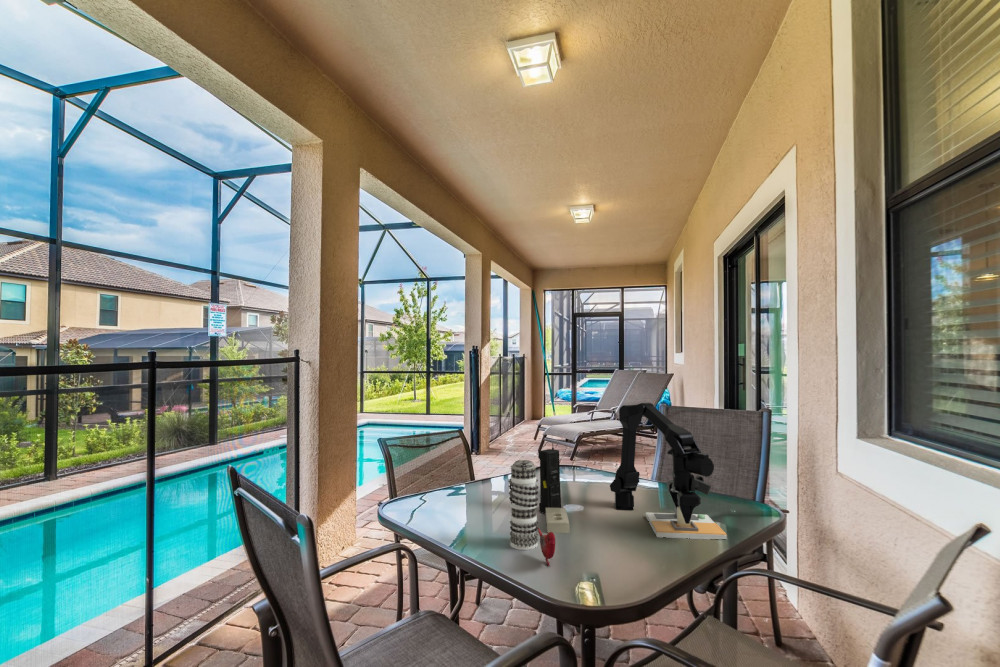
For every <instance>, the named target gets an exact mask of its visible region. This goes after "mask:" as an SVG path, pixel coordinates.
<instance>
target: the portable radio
mask: <svg viewBox="0 0 1000 667" xmlns="http://www.w3.org/2000/svg"><path fill="white" fill-rule="evenodd" d="M551 444H552V447H551V448H548V449H543V450H538V453H537V455H538V457H537V458H538V459H539V484H540V486H539V488H540V489H539V490H540V491H539V492H540V494H539V495H540V496H539V498H540V499H539V500H540V502H539V503H538V511H539V512H540V511H541V512H540V513H542V512H543V514H544V513H545V508H563V507H562V496H561V495H562V493H561V476H560V475H561V473H560V472H561V468H560V467H561V466H560V465H561V464H560V450H559V449H555V447H554V443H551Z"/></svg>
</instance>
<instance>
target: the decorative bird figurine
mask: <svg viewBox="0 0 1000 667" xmlns="http://www.w3.org/2000/svg"><path fill="white" fill-rule="evenodd" d="M537 532H538V536H539V545H540V550H541V553H542V555H543V557H544V558H545V559H544V560H545V562H546V565H547V566H549V567H551V565H550V562H549V560H551V559H552V558H554V555H555V551H556V537H555V534H554V533H553V532H549V533H546V534H543V533H542V530H541V529H540V528H539V527H538V529H537Z"/></svg>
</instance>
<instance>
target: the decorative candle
mask: <svg viewBox="0 0 1000 667" xmlns="http://www.w3.org/2000/svg"><path fill="white" fill-rule="evenodd" d="M536 468H538V467H537V465H535V464H534V462H533V461H531V460H529V459H527V460H526V459H520V460H515V461H514V462H513V464H512V465H510V469H511V470H510V473H511V474H510V478H509V480H508V483H509V485H508V489H509V493H508V494H509V497H508V498H509V501H510V503H509V507H511V514H510V521H509V524H510V526H509V528H510V530H511V531H510V532H509V535H510V538H509V540H510V544H509V545H510V547H511V548H513V549H515V550H518V551H519V550H520V551H530V550H534V549H536V548H538V545H539V542H538V541H539V539H538V536H539V531H538V528H539V527H538V524H539V521H538V520H537V519H538V518H537V517H538V516H537V507H538V506H539V503H538V500H539V498H538V497H537V495H538V494H539V491H538V489H539V485H537V484H536V483H537V482H538V481H539V480H538V479H537V476H536ZM535 547H536V548H535Z"/></svg>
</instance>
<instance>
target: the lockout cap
mask: <svg viewBox="0 0 1000 667" xmlns="http://www.w3.org/2000/svg"><path fill="white" fill-rule="evenodd" d="M677 527H687V528H691V526H690V523H689V524H686V523H685V520H684V518H683V515H682V513H681V510H680V507H677Z"/></svg>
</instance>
